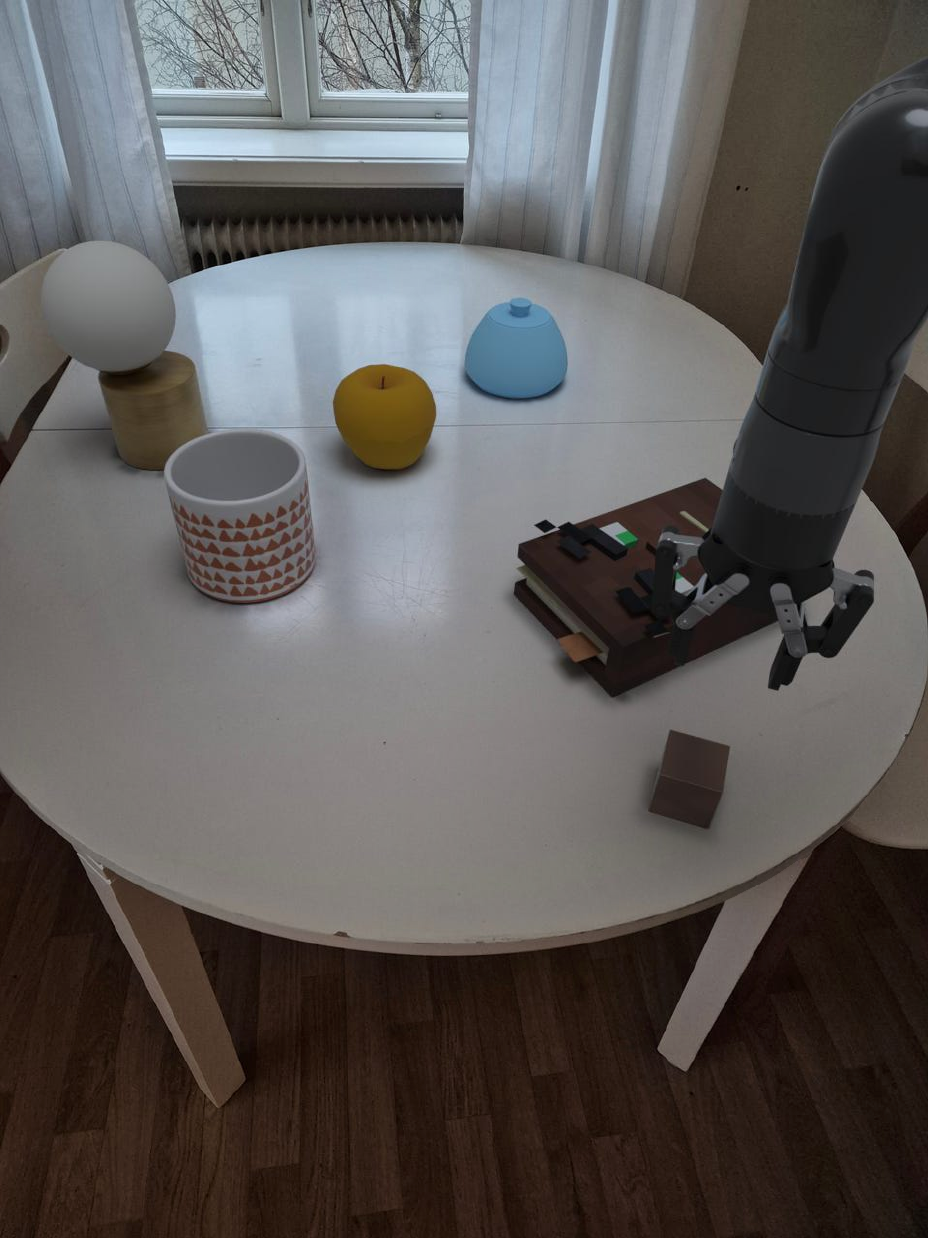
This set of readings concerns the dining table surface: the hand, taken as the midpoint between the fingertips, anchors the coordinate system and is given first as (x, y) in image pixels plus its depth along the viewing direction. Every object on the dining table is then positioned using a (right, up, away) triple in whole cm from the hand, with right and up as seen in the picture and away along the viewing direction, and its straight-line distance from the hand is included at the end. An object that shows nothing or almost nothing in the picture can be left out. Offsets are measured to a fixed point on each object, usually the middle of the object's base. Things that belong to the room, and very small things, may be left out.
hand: (727, 669), depth 62 cm
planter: (-42, +10, +31) cm, 53 cm away
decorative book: (+1, +5, +29) cm, 29 cm away
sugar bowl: (-12, +39, +65) cm, 76 cm away
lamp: (-59, +26, +48) cm, 80 cm away
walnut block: (-1, -11, +11) cm, 16 cm away
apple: (-29, +24, +48) cm, 61 cm away
